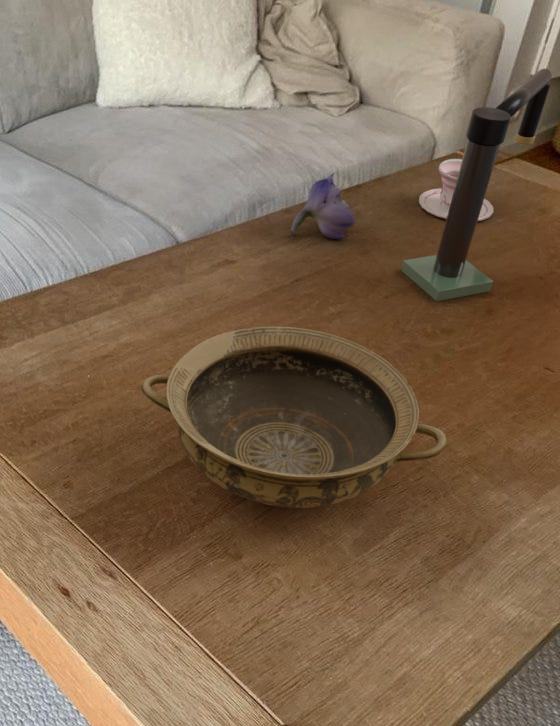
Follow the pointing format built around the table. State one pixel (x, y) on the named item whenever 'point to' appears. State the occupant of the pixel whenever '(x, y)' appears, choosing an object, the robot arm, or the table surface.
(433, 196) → the teacup
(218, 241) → the table surface
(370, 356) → the ceramic bowl
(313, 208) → the flower
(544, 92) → the spout
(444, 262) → the base
